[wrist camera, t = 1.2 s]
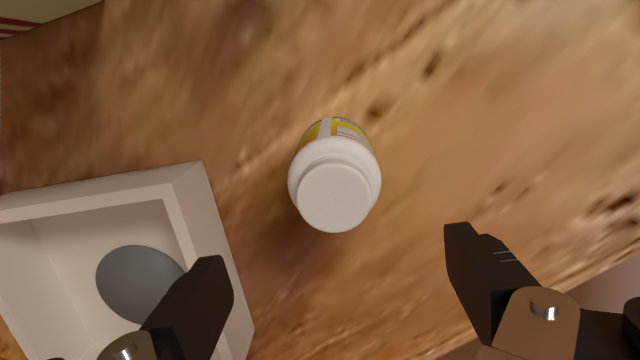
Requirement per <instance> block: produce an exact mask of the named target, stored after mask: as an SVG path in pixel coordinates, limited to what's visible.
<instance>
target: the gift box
mask: <svg viewBox="0 0 640 360" xmlns="http://www.w3.org/2000/svg"><path fill="white" fill-rule="evenodd" d="M100 1H102V0H0V39H4V38H7V37H10V36H13V35H16V34H19V33H21V32H24V31H27V30H29V29H32V28H34V27H36V26H39V25H41V24H43V23H46V22H48V21H51V20H54V19H56V18H59V17H62V16H65V15H67V14H70V13H73V12H75V11H78V10H80V9H83V8H86V7H88V6H91V5H94V4H96V3H98V2H100Z"/></svg>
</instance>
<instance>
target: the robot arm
mask: <svg viewBox="0 0 640 360" xmlns="http://www.w3.org/2000/svg"><path fill="white" fill-rule="evenodd" d="M444 243H445V258H446V268H447V272H448V276H449V279H450V282H451V284H452V286H453V288H454V290H455V292H456V294H457V296H458V298H459V300H460V302H461V304H462V306H463V308H464V309H465V311H466V313H467V315H468V317H469V319H470V321H471V323H472V325H473V327H474V329H475V331H476V333H477V335H478V337H479V339H480V341H481V343H482V346H481V348H480V350H479V352H478V355H477V357H476V359H475V360H640V297H636V298H632V299H630V300H628V301H627V302H626V303H625V305H624V309H623V314H618V313H609V312H599V311H592V310H585V309H581V308H579V307H578V305H577V304H576V303H575V302H574V301H573V300H572V299H571V298H570V297H568V296H566V295H565V294H563V293H561V292H559V291H556V290H553V289H550V288H546V287H542V286H541V285H540V284H539V283H538V281H537V280H536V279H535V278H534V277H533V276H532V275H531V274H530V273H529V271H528V270H527V269H526V268H525V267H524V266H523V265H522V264H521V262H520V261H519V260H517V258H516V257H515V256H514V255H513V254H512V252H510V251H509V249H508V248H507V247H506V246H505V245H504V244H503V242H502V241H500V240H499V239H497V238H495V237H493V236H491V235H489V234H480V235H478V233H477V232H476V231H475V230H474V228H473V227H472V226H471V225H470V223H469V222H467V221H466V222H459V223H451V224H445V225H444ZM166 293H167V294H165V295H164V296H163V298H162V299H161V300H160V303H158V304H157V306H156V307H155V308H154V310H153V311H152V312H151V314H150V315H149V317H148V318H147V319H146V321H145V322H144V323H143V325H142V326H141V327H140V329H139V330H138V331H133V332H130V333H127V334H125V335H123V336H121V337H119V338H117V339H116V340H114V341H113V342H111V343H110V344H109V345H108V346H106V347H105V348H104V349H103V350H102V352H101V353H100V354H99V356H98V357H97V360H210V359H211V357H212V354H213V352H214V350H215V347H216V345H217V343H218V340H219V338H220V336H221V333H222V331H223V329H224V326H225V324H226V322H227V319H228V317H229V315H230V312H231V310H232V307H233V304H234V291H233V287H232V284H231V281H230V278H229V275H228V272H227V268H226V265H225V262H224V259H223V257H222V256H221V255H211V256H204V257H199V258H198V259H197V260H196V261H195V263H194V264H193V266H192V267H191V269H190V270H189V271H188V272H186V273H185V274H183V275H182V276H181V277H180V278H178V279H177V280H176V281H175V282H174V283H173V284H172V285H171V287H170V288H169V289H168V291H167V292H166ZM47 360H65V359H63V358H59V357H57V358H51V359H47Z"/></svg>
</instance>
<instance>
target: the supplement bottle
mask: <svg viewBox="0 0 640 360" xmlns="http://www.w3.org/2000/svg"><path fill="white" fill-rule="evenodd" d="M287 184H288V191H289V195H290V197H291V200H292V202H293V203H294V205H295V206H296V208H297V209H298V210H299V212H300V214H301V216H302V217H303V218H304V220H305V221H306V222H307V223H308V224H310V225H311V226H312V227H314V228H316V229H318V230H320V231H323V232H328V233H340V232H345V231H348V230H350V229H352V228H354V227H356V226H357V225H359V224H360V223H361V222H362V221H363V220H364V219H365V217H366V216H367V214H368V212H369V211H370V210H371V209H372V207H373V206H374V204H375V203H376V201H377V199H378V196H379V193H380V189H381V173H380V169H379V165H378V163H377V160H376V158H375V156H374V153H373V151H372V148H371V146H370V143H369V141H368V138H367V136H366V134H365V132H364V131H363V130H362V129H361V128H360V127H359V126H358V125H357V124H356V123H354V122H353V121H351V120H349V119H346V118H342V117H327V118H324V119H321V120H319V121H317V122H315V123H314V124H313V125H311V126H310V127H309V128H308V130H307V131H306V132H305V134H304V135H303V137H302V139H301V142H300V144H299V147H298V149H297V151H296V153H295V156H294V158H293V160H292V162H291V165H290V168H289V172H288V179H287Z"/></svg>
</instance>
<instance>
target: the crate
mask: <svg viewBox="0 0 640 360" xmlns="http://www.w3.org/2000/svg"><path fill="white" fill-rule="evenodd" d="M211 255H221V256H222V257H223V259H224V262H225V265H226V268H227V272H228V275H229V278H230V281H231V284H232V287H233V291H234V304H233V307H232V310H231V312H230V315H229V317H228V319H227V322H226V324H225V326H224V329H223V331H222V333H221V336H220V338H219V340H218V343H217V345H216V347H215V350H214V352H213V354H212V357H211V359H210V360H246V356H247V353H248V350H249V347H250V344H251V340H252V337H253V334H254V331H255V328H254V325H253V322H252V319H251V315H250V312H249V309H248V306H247V302H246V299H245V296H244V293H243V290H242V286H241V283H240V280H239V277H238V273H237V270H236V267H235V264H234V261H233V257H232V254H231V251H230V248H229V244H228V241H227V238H226V235H225V232H224V228H223V225H222V222H221V219H220V215H219V212H218V209H217V206H216V203H215V199H214V196H213V193H212V190H211V186H210V183H209V180H208V177H207V174H206V170H205V167H204V164H203V161H202V160H198V161H192V162H186V163H180V164H174V165H168V166H162V167H156V168H150V169H144V170H139V171H133V172H127V173H121V174H115V175H109V176H103V177H97V178H91V179H85V180H79V181H73V182H67V183H61V184H55V185H49V186H43V187H37V188H31V189H25V190H19V191H13V192H10V193H7V194H5V195H2V196H0V315H1V316H2V318H3V319H4V321H5V323H6V324H7V326H8V328H9V329H10V331H11V332H12V334H13V336H14V337H15V339H16V341H17V342H18V344H19V345H20V347H21V349H22V350H23V352H24V354H25V355H26V357H27V358H28V360H47V359H51V358H57V357H59V358H63V359H65V360H97V357H98V356H99V354H100V353H101V352H102V350H103V349H104V348H105V347H106V346H108V345H109V344H110V343H111V342H113V341H114V340H116V339H117V338H119V337H121V336H123V335H125V334H127V333H130V332H133V331H138V330H139V329H140V327H141V326H142V325H143V323H144V322H145V321H146V319H147V318H148V317H149V315H150V314H151V312H152V311H153V310H154V308H155V307H156V306H157V304H158V303H160V300H161V299H162V298H163V296H164V295H165V294H167V293H166V292H167V291H168V289H169V288H170V287H171V285H172V284H173V283H174V282H175V281H176V280H177V279H178V278H180V277H181V276H182V275H183V274H185V273H186V272H188V271H189V270H190V269H191V267H192V266H193V264H194V263H195V261H196V260H197V259H198V258H199V257H204V256H211Z"/></svg>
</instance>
